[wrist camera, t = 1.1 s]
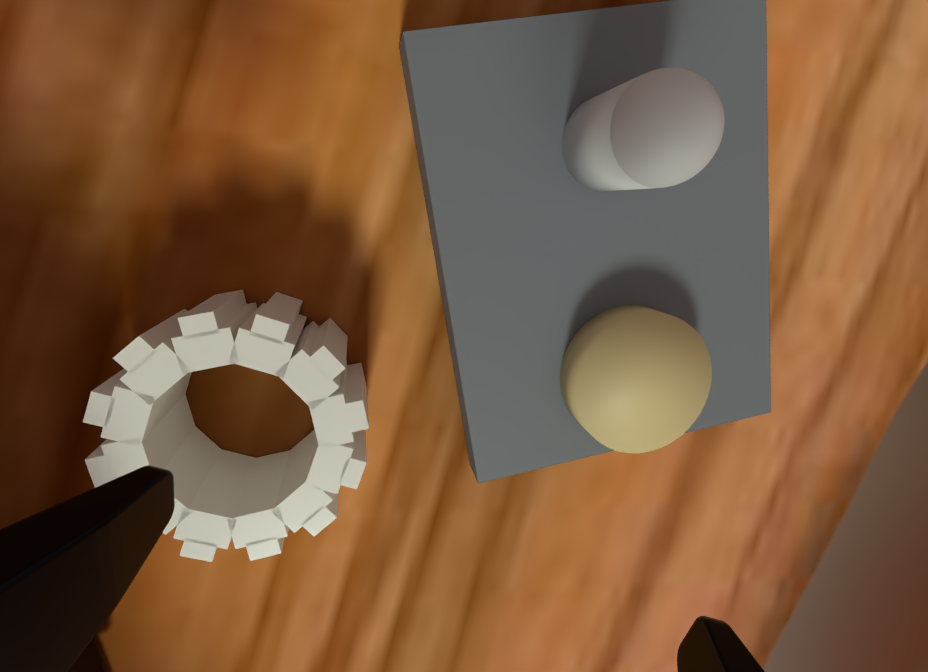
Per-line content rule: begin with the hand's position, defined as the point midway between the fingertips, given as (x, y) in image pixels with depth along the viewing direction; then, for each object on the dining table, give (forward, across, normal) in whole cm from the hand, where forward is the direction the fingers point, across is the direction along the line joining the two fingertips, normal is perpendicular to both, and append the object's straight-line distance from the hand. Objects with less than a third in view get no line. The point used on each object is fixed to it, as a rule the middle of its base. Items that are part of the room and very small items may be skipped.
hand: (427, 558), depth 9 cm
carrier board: (+14, -3, -2) cm, 14 cm away
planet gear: (+9, +7, +4) cm, 12 cm away
